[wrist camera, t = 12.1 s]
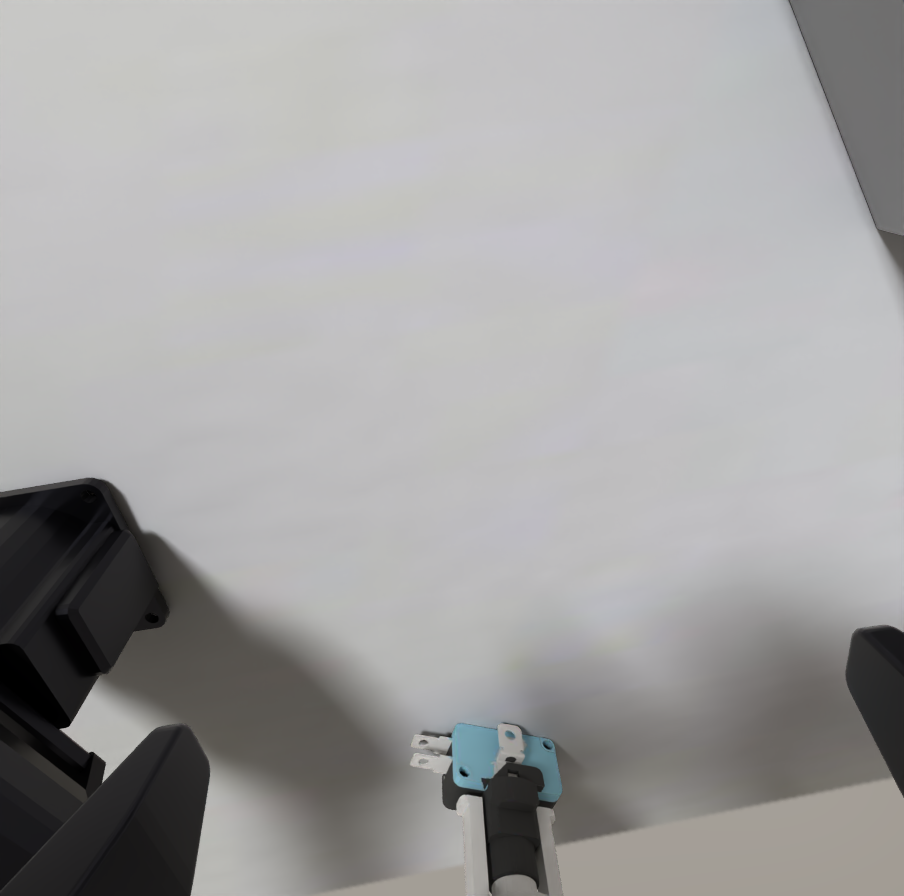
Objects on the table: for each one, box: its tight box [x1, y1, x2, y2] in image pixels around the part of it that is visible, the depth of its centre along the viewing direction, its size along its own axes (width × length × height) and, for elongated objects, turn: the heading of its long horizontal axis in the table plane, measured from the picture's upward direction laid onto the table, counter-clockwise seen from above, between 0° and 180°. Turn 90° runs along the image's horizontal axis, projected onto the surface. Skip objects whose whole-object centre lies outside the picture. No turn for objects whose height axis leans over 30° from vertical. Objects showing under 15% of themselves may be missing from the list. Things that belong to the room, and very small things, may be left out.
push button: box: [410, 723, 563, 896], centre depth 24 cm, size 7×5×10 cm
